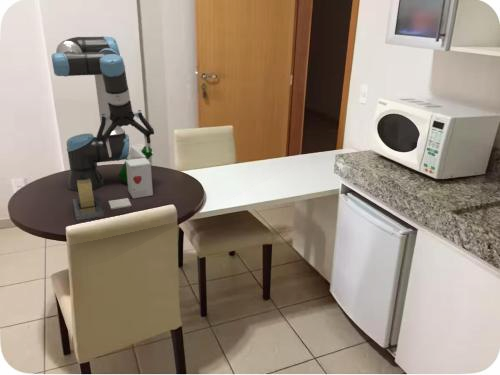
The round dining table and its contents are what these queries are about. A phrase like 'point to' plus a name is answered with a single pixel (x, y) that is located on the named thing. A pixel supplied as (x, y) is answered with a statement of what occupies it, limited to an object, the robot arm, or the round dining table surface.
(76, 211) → the grey metal slotted plate
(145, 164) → the supplement box
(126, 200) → the mat
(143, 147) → the milk carton
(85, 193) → the gold metal column
